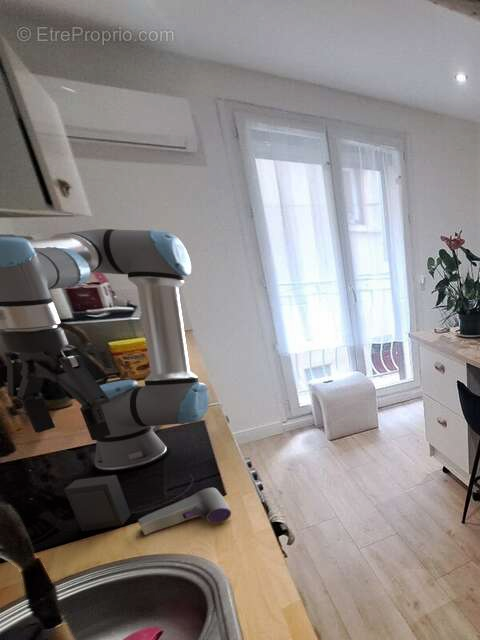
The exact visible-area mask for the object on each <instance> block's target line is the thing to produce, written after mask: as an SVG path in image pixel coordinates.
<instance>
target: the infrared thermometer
mask: <svg viewBox="0 0 480 640" xmlns="http://www.w3.org/2000/svg"><path fill="white" fill-rule="evenodd" d="M231 516H232V510H231V508H230V507H229V505H228V503H227V502H226V500H225V498H224V496H223V495H222V494H221V492H220V491H219V490H218V489H217V488H215V487H206V488H203V489H201V490H198V491H197V492H195V493H194V494H192V495H191V496H189V497H186V498H184V499H181V500H179V501H177V502H175V503H173V504H170V505H168V506H165V507H162V508H160V509H158V510H156V511H153V512H151V513H147V515H144V516H142V517H140V518H138V519H137V522H138V524H139V526H140V528H141V530H142V532H143V534H144V536H147V535H148V534H152V533H153V532H156V531H160V530H162V529H166V528H168V527H172V526H175V525H178V524H180V523H183V522H185V521H189V520H191V519H196V518H198V517H200V518H203V519H204V520H205V521H207V522H209V523H214V524H217V523H222V522H225V521H227V520H228V519H229V518H230V517H231Z"/></svg>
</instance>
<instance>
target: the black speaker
mask: <svg viewBox="0 0 480 640" xmlns="http://www.w3.org/2000/svg"><path fill="white" fill-rule="evenodd" d="M63 490H64V493H65V495H66V498H67V500H68V502H69V504H70V507H71V509H72V512H73V514H74V517H75V519H76V521H77V523H78V525H79V528H80V531H81V532H82V533H83V532H90V531H96V530H101V529H108V528H115V527H119V526H120V527H121V526H123V525H124V524H125V523H126V522H127V521H128V519H129V518H130V517H131V516H132V514H131V511H130V509H129V506H128V503H127V500H126V498H125V494H124V493H123V492H124V491H123V489H122V487H121V484H120V481H119V479H118V475H117V474H112V475H104V476H96V477H88V478H80V479H79V478H78V479H75V480H73V481H72V482H71V483H70V484H68V485H67V487H65V488H64V489H63Z"/></svg>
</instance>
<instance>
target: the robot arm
mask: <svg viewBox="0 0 480 640" xmlns="http://www.w3.org/2000/svg"><path fill="white" fill-rule="evenodd" d="M91 273H95V274H96V273H97V274H109V275H110V274H111V275H112V274H113V275H127V279H128V281H129V282H130V283H132V284H134V285H135V286H136V289H137V294H138V301H139V306H140V315H141V318H142V319H141V320H142V327H143V333H144V340H145V345H146V351H147V359H148V366H149V371H150V373H149V375H147V376H146V377H145V378H144V379H143V381H144V385H140V384H139V382H137V380H135V379H124V380H118V381H113V382H107V383H104V384H100V385H99V383H98V382H97V380H95V378H94V377H93V375H92V374H91V373H90V372H89V370H88V369H87V367H86V366H85V364H84V362H83V360H82V358H81V356H80V355H78V354H73V355H69V356H66V355H65V353H64V352H63V350H64V349H65V348H66V347H68V346H69V341H68V339H67V336H66V333H65V331H64V328H63V327H61V326H60V324H61V319H60V316H59V314H58V312H57V309H56V305H55V303H54V301H53V299H52V296H51V293H50V291H51V290H56V289H66V288H67V289H71V288H73V287H76V286H80V285H82V284H83V285H84V284H85V283H86V282H87V281H88V280H89V278H90V276H91ZM191 273H192V263H191V259H190V256H189V253H188V250H187V249H186V247H185V245H184V244H183V242H182V241H181V240H180V239H179V238H178V237H177V236H176V235H174V234H173V233H171V232H167V231H158V230H153V229H150V230H148V229H147V230H143V229H142V230H140V229H113V228H96V229H87V230H78V231H71V232H62V233H61V232H60V233H56V234H54V235H52V236H50V238H40V239H39V238H38V239H27V238H25V237H20V236H19V237H18V236H0V329H1V331H0V338H1V340H2V343H3V346H4V348H5V350H6V352H4V353H3V355H4V356H3V357H4V358H5V361H6V379H7V383H6V384H7V395H8V397H10V398H16V399H17V400H18V401H19V402H21V403H22V406H23V407H24V410H25V412H26V414H27V417H28V419H29V421H30V424H31V426H32V428H33V431H34V432H35V433H36V434H39V433H42V432H46V431H48V430H49V431H50V430H52V429H55V428H56V426H55V423H54V421H53V418H52V415H51V413H50V411H49V409H48V406H47V404H46V401H45V399H44V397H42V396H43V394H42V393H41V389H42V387H43V383H44V380H45V379H48V380H50V381H51V382H52V383H57V384H59V385H60V386H61V387H62V388H63V389H64V390H65V391H66V392H67V393H68V394H69V395H70V396H71V397H72V398H73V399H74V400H76V402H77V403H79V404H80V405H81V407H80V408H79V410H80V412H81V415H82V417H83V418H82V419H83V420H84V423H85V425H86V428H87V431H88V433H89V437H90V438H91V440H92V441H96V446H95V453H94V454H95V455H94V465H95V468H96V471H98V472H100V473H101V472H102V473H120V472H122V473H123V472H128V471H133V470H137V469H140V468H144V467H147V466H150V465H153V464H154V463H156V462H159V461H160V460H162V459H163V458H165V457H166V455H167V454H168V449H167V446H166V445H165V443H164V442H163V440H161V439H160V437H159V436H158V435H157V434H156V432H157V431H158V430H159V429H160V427H161V426H168V425H170V426H171V425H184V424H192V423H197V422H200V421H201V420H203V419H204V418H205V416H206V415H207V413H208V410H209V406H210V392H209V389H208V386H207V384H206V383H204V382H200V381H199V378H198V375H196V374H195V373H193V372H192V371H191V368H190V362H189V360H190V359H189V354H188V353H189V352H188V346H187V341H186V333H185V326H184V325H185V324H184V320H183V319H184V318H183V312H182V305H181V299H180V298H181V297H180V292H179V288H180V287H182V286H183V285H184V283H185V279H184V277H187V276H189V275H191ZM152 427H154V429H153V428H152Z"/></svg>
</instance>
